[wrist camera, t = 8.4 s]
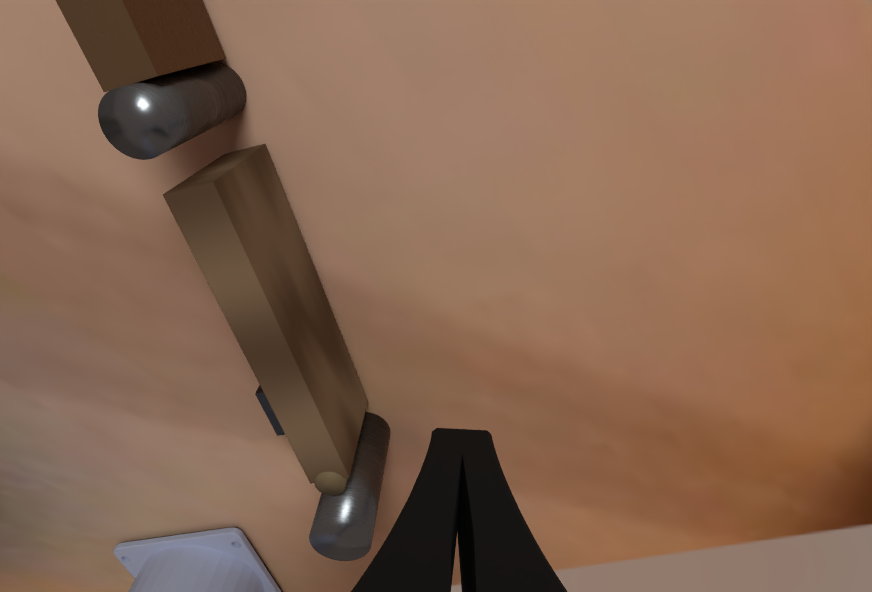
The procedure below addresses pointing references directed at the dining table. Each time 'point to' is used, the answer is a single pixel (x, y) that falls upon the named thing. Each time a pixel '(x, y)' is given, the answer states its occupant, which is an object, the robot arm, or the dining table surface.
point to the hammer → (177, 123)
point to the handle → (275, 307)
